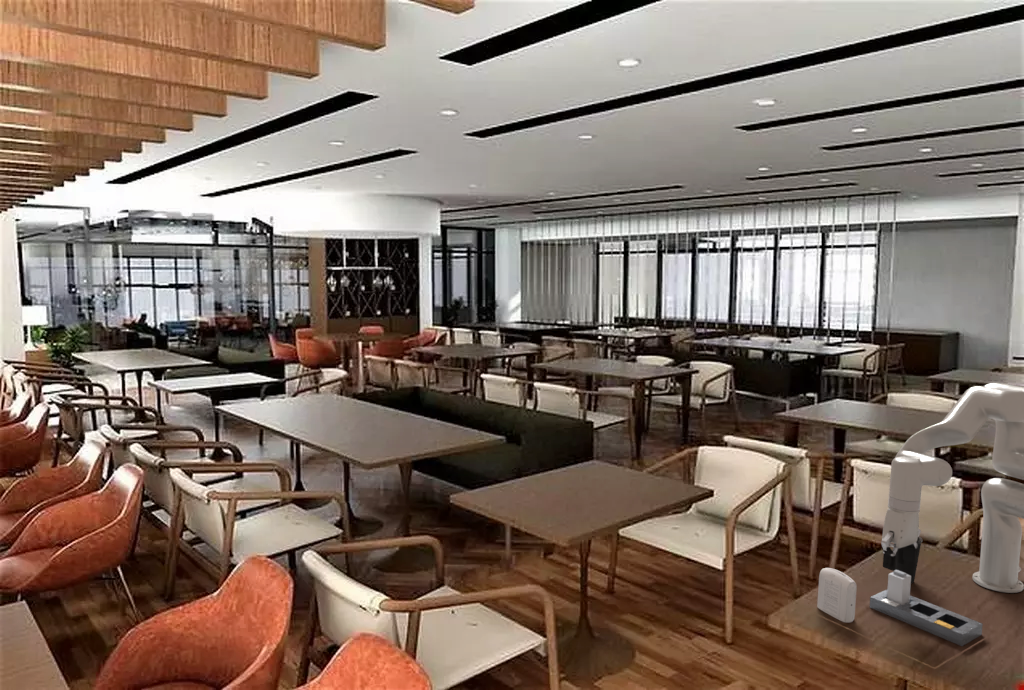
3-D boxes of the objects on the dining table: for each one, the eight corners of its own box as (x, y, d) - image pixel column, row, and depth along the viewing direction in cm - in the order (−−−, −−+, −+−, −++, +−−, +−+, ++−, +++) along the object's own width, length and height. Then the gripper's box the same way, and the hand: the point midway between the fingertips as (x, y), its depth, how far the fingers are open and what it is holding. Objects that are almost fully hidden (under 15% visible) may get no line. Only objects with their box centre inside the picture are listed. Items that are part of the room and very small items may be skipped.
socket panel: (889, 599, 206) (890, 587, 205) (981, 636, 186) (982, 622, 186) (869, 608, 201) (870, 596, 200) (961, 647, 181) (962, 633, 180)
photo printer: (857, 621, 193) (859, 577, 192) (845, 625, 192) (848, 580, 190) (825, 605, 203) (828, 562, 201) (814, 608, 201) (816, 565, 199)
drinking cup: (923, 587, 213) (927, 522, 210) (894, 585, 214) (899, 520, 212) (914, 576, 220) (918, 512, 218) (887, 574, 222) (891, 511, 219)
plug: (894, 604, 202) (896, 567, 200) (908, 610, 198) (911, 572, 197) (886, 608, 200) (888, 571, 198) (900, 614, 196) (903, 576, 195)
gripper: (907, 494, 203) (902, 553, 205) (872, 505, 194) (867, 566, 196) (935, 502, 197) (930, 563, 199) (900, 513, 187) (894, 577, 189)
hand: (899, 565), depth 197 cm, fingers open, 9 cm apart
